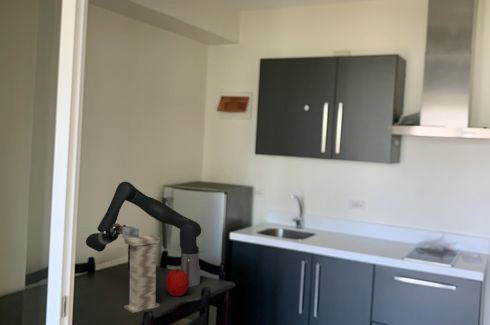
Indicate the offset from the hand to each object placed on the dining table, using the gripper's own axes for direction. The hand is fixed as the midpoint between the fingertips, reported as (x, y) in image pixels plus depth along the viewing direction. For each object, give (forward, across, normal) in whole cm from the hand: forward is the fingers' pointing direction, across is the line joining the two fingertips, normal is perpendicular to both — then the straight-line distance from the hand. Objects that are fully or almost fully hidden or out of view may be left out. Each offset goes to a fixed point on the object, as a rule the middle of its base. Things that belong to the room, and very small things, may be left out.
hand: (122, 227), depth 250 cm
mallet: (0, 0, +3) cm, 3 cm away
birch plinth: (+4, +1, +39) cm, 39 cm away
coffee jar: (-50, +29, +16) cm, 60 cm away
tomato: (-1, +23, +37) cm, 43 cm away
